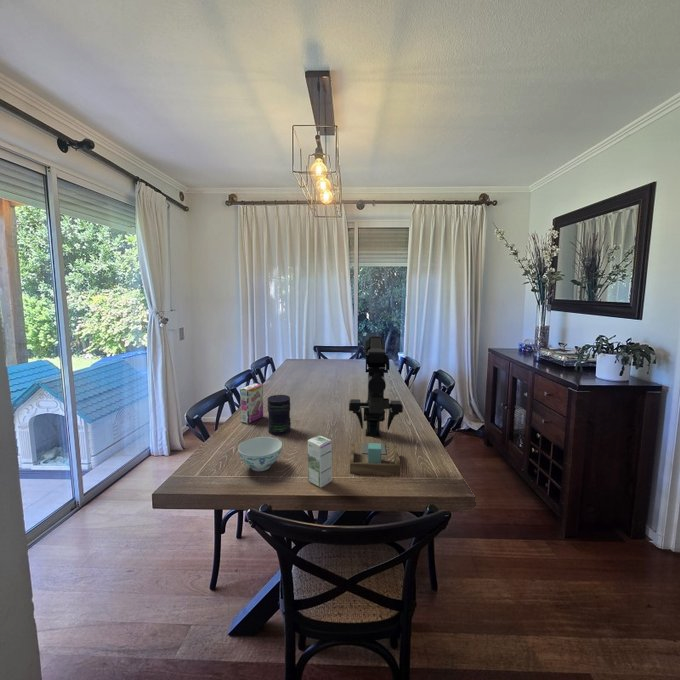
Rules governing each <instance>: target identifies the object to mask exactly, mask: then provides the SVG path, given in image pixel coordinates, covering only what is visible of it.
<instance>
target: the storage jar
mask: <svg viewBox="0 0 680 680" xmlns="http://www.w3.org/2000/svg"><path fill="white" fill-rule="evenodd" d="M267 412H268V414H267V415H268V420H267V427H268V434H269V435H271V436H285V435H287V434H289V433H291V431H292V430H291V397H290V396H289V395H286V394H275V395H271V396H268V397H267Z"/></svg>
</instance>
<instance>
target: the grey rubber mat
mask: <svg viewBox="0 0 680 680" xmlns="http://www.w3.org/2000/svg"><path fill="white" fill-rule="evenodd" d="M368 443H369V442H362V443H361V444H362V447H361V449H362V450H361V451H362V452H361V454H362V455H368ZM379 444H381V456H382V455H383V456H386V455H387V452H386V450H387V449H386V444H385V443H381V442H379Z"/></svg>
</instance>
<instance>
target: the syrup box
mask: <svg viewBox="0 0 680 680" xmlns="http://www.w3.org/2000/svg"><path fill="white" fill-rule="evenodd" d="M332 441H333V440H332V439H330V438H327V437H325V436H322V435H319V434H318V435H316V436H314V437H313V436H312V437H311V438H310V439H307V473H308V474H307V475H308V476H307V480H308V481H307V482H308V483H311V484H313V485H314V486H316V487H318V488H320V489H321V488H323V487H325V486H327V485H328V484H330V483H331V482H332V481H333V475H332V474H333V471H332V469H333V468H332V466H333V465H332V460H333V459H332V458H333V457H332V452H333V451H332V449H333V448H332Z"/></svg>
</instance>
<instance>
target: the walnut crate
mask: <svg viewBox="0 0 680 680" xmlns="http://www.w3.org/2000/svg"><path fill="white" fill-rule="evenodd" d="M393 457H394V458H393V459H394V463H382V462H381V463H368V462H354V461H355V443H352V444H351V449H350V461H349V474H358V475H362V474H363V475H382V476H401V461H400V456H399V450H398V445H393Z"/></svg>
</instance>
